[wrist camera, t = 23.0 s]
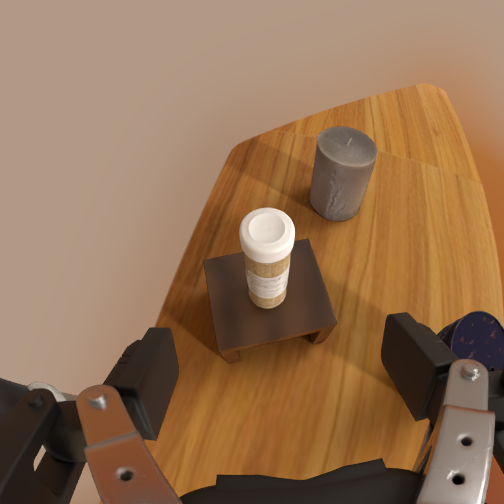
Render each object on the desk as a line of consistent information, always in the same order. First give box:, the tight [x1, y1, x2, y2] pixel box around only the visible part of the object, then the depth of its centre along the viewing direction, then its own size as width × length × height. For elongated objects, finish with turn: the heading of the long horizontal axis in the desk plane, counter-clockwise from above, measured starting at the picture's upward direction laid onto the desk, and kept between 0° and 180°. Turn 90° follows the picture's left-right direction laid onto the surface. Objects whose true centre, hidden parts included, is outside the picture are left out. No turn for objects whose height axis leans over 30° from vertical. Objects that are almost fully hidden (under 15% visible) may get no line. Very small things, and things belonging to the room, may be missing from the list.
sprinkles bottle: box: [239, 208, 295, 309], centre depth 30 cm, size 5×4×14 cm
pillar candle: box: [310, 126, 378, 221], centre depth 47 cm, size 10×10×15 cm
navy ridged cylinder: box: [437, 311, 504, 372], centre depth 30 cm, size 10×10×15 cm
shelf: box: [203, 239, 337, 363], centre depth 40 cm, size 14×12×9 cm
